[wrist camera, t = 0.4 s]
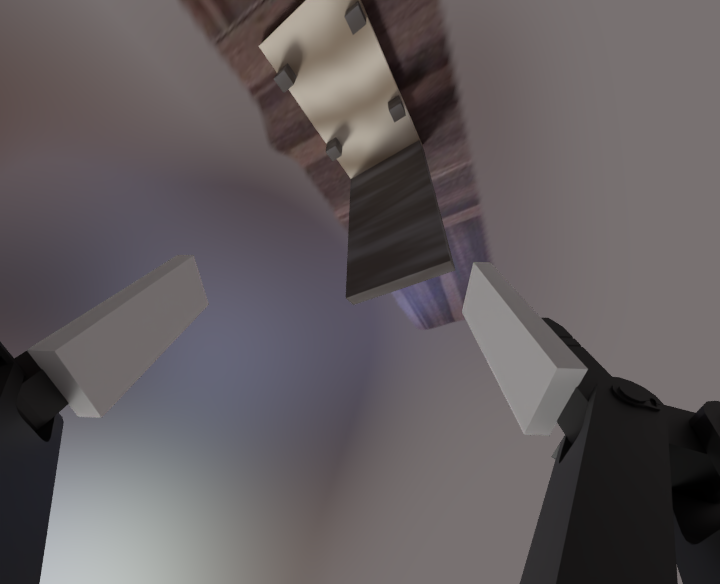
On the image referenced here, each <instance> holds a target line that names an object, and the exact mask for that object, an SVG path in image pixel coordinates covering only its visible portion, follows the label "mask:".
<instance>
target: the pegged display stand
mask: <svg viewBox="0 0 720 584" xmlns="http://www.w3.org/2000/svg"><path fill="white" fill-rule="evenodd" d="M259 47H260V49H261V50H262V52H263V53H264V55H265V56H266V58H267V59H268V60H269V62H270V63H271V65H272V66H273V68H274V69H275V70H276V72H277V74H276V76H275V78H274V80H275V81H276V83H277V84H278V86H279V87H280V88H281V90H282V91H283V93H284V92H286V91H287V90H288V89H289V91H290V92H291V94H292V95H293V96H294V98H295V99H296V101H297V102H298V104H299V105H300V106H301V108H302V109H303V111H304V112H305V114H306V115H307V117H308V118H309V119H310V121H311V122H312V124H313V125H314V127H315V128H316V130H317V131H318V132H319V134H320V135H321V137H322V138H323V140H324V141H325V142H326V144H327V147H326V153H327V154H328V156H329V157H330V159H331V160H332V161H334V160H336V159H337V160H338V161H339V163H340V164H341V166H342V167H343V168H344V170H345V171H346V173H347V174H348V176H349V177H350V178H351V189H350V212H349V235H348V258H347V282H346V299H347V300H348V301H350V302H351V303H352V304H353V305H355V304H358V303H361V302H364V301H367V300H369V299H373V298H375V297H378V296H381V295H384V294H387V293H390V292H393V291H396V290H399V289H402V288H405V287H408V286H411V285H414V284H417V283H420V282H422V281H425V280H428V279H431V278H434V277H437V276H440V275H443V274H446V273H449V272H452V271H455V267H454V263H453V260H452V256H451V252H450V248H449V244H448V241H447V237H446V233H445V229H444V225H443V221H442V218H441V214H440V210H439V206H438V202H437V199H436V195H435V191H434V187H433V183H432V180H431V176H430V172H429V168H428V164H427V160H426V157H425V153H424V149H423V145H422V143H421V140H420V138H419V136H418V133H417V131H416V129H415V126H414V124H413V122H412V119H411V117H410V115H409V112H408V110H407V107H406V105H405V103H404V100H403V98H402V96H401V93H400V91H399V89H398V86H397V84H396V81H395V79H394V77H393V74H392V72H391V70H390V67H389V65H388V63H387V60H386V58H385V56H384V53H383V51H382V48H381V46H380V44H379V41H378V39H377V37H376V34H375V32H374V30H373V27H372V25H371V23H370V20H369V18H368V15H367V13H366V11H365V8H364V6H363V4H362V1H361V0H305V1H304V2H303V3H302V4H301V5H300V6H299V7H298V8H297V9H296V10H295V11H294V12H293V13H292V14H291V15H290V16H289V17H288V18H287V19H286V20H285V21H284V22H283V23H281V24H280V25H279V26H278V27H277V28H276V29H275V30H274V31H273V32H272V33H271V34H270V35H269V36H268V37H267V38H266V39H265V40H264V41H263V42H262V43H261V44H260V46H259Z"/></svg>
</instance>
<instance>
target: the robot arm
mask: <svg viewBox="0 0 720 584" xmlns="http://www.w3.org/2000/svg"><path fill="white" fill-rule="evenodd" d="M208 305H209V303H208V300H207V297H206V294H205V291H204V287H203V284H202V281H201V278H200V275H199V271H198V268H197V265H196V262H195V258H194V256H193V255H177V256H175V257H174V258H172V259H171V260H169V261H167V262H166V263H164V264H163V265H161V266H159V267H158V268H156V269H155V270H153V271H152V272H150V273H148V274H147V275H145V276H144V277H142V278H140V279H139V280H138V281H136V282H134V283H133V284H131V285H130V286H128V287H126V288H125V289H123V290H121V291H120V292H118V293H117V294H115V295H114V296H112V297H110V298H109V299H107V300H106V301H104V302H103V303H101V304H99V305H98V306H96V307H95V308H93V309H91V310H90V311H88V312H87V313H85V314H84V315H82V316H80V317H79V318H77V319H75V320H74V321H72V322H71V323H69V324H68V325H66V326H65V327H63V328H61V329H60V330H58V331H57V332H55V333H53V334H52V335H50V336H48V337H47V338H45V339H44V340H42V341H41V342H39V343H37V344H36V345H34V346H33V347H31V348H30V349H28V350H27V351H25V352H24V353H22V354H21V355H19V356H18V357H16V358H13V357H12V355H11V354H10V353H9V352H8V351H7V349H6V348H5V347H4V346H3V344H2V343H1V342H0V584H39V582H40V576H41V569H42V563H43V556H44V549H45V543H46V536H47V529H48V522H49V516H50V509H51V503H52V496H53V488H54V483H55V476H56V469H57V462H58V456H59V449H60V443H61V436H62V429H63V419H62V416H61V415H60V414H59V412H60V411H61V410H62V409H63V408H64V407H65V406H66V405H68V404H69V406H70V407H71V408H72V410H73V411H74V412H75V413H76V415H77V416H78V417H98V418H102V417H103V416H104V415H105V414H106V413H107V412H108V410H109V409H110V408H111V407H112V406H113V405H114V404H115V403H116V402H117V401H118V400H119V399H120V398H121V397H122V396H123V394H124V393H126V391H127V390H128V389H129V388H130V387H131V386H132V385H133V384H134V383H135V382H136V381H137V380H138V379H139V377H141V376H142V375H143V373H144V372H145V371H146V370H147V369H148V368H149V367H150V366H151V365H152V364H153V363H154V362H155V361H156V360H157V359H158V358H159V356H161V354H162V353H163V352H164V351H165V350H166V349H167V348H168V347H169V346H170V345H171V344H172V343H173V342H174V341H175V340H176V339H177V338H178V337H179V335H180V334H181V333H182V332H183V331H184V330H185V329H186V328H187V327H188V326H189V325H190V324H191V323H192V322H193V321H194V320H195V319H196V318H197V317H198V315H199V314H200V313H201V312H202V311H203V310H204V309H205V308H206V307H207V306H208ZM462 313H463V315H464V317H465V319H466V321H467V323H468V325H469V327H470V329H471V331H472V332H473V335H474V336H475V338H476V341H477V342H478V344H479V346H480V348H481V350H482V352H483V354H484V356H485V358H486V360H487V362H488V364H489V366H490V368H491V370H492V372H493V374H494V376H495V378H496V380H497V382H498V384H499V386H500V388H501V390H502V392H503V394H504V396H505V398H506V400H507V402H508V404H509V406H510V408H511V410H512V412H513V413H514V416H515V418H516V420H517V422H518V423H519V425H520V428H521V429H522V431H523V433H524V434H525V435H550V434H551V432H552V431H553V429H554V427H555V425H556V424H557V423H558V424H559V426H560V427H561V429H562V430H563V432H564V433H565V436H564V438H563V439H562V441H561V442H560V444H559V446H558V447H557V449H556V450H555V452H554V454H553V455H552V457H553V458H554V459H556V460H555V464H554V467H553V471H552V474H551V478H550V481H549V484H548V488H547V492H546V495H545V498H544V502H543V505H542V509H541V512H540V516H539V519H538V522H537V526H536V529H535V533H534V537H533V540H532V543H531V547H530V550H529V554H528V557H527V560H526V564H525V567H524V571H523V574H522V578H521V581H520V584H678V583H677V567H678V570H679V573H680V576H681V579H682V582H683V584H720V402H719V401H708V402H706V403H705V404H704V405H703V406H702V407H701V408H700V409H699V410H698V411H697V413H694V412H690V411H686V410H682V409H678V408H674V407H670V406H666V405H664V404H663V403H662V402H661V401H660V400H659V399H658V398H657V397H656V396H655V395H654V394H652V393H651V392H650V391H648V390H647V389H645V388H644V387H642V386H640V385H638V384H635V383H634V382H631V381H628V380H625V379H622V378H619V377H612V376H611V375H610V374H609V373H608V372H607V371H606V370H605V369H604V368H603V367H602V366H601V365H600V364H599V363H598V362H597V361H596V360H595V359H594V358H593V357H592V356H591V355H590V354H589V353H588V352H587V351H586V350H585V349H584V348H583V347H581V345H580V344H579V343H578V342H577V341H576V340H575V339H573V338H572V336H571V335H570V334H569V333H568V332H567V331H566V330H565V329H564V328H563V327H562V326H561V325H559V324H558V323H556V322H554V321H553V320H551V319H549V318H541V317H540V316H539V315H538V314H537V313H536V312H535V311H534V310H533V308H532V307H531V306H530V305H529V304H528V303H527V302H526V301H525V300H524V299H523V298H522V296H521V295H520V294H519V293H518V292H517V291H516V290H515V289H514V288H513V287H512V286H511V284H510V283H509V282H508V281H507V280H506V279H505V278H504V277H503V276H502V275H501V274H500V272H499V271H498V270H497V269H496V268H495V267H494V266H493V265H492V264H491V263H489V262H474V263H473V267H472V271H471V275H470V280H469V284H468V288H467V292H466V297H465V301H464V305H463V310H462ZM676 564H677V567H676Z"/></svg>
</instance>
